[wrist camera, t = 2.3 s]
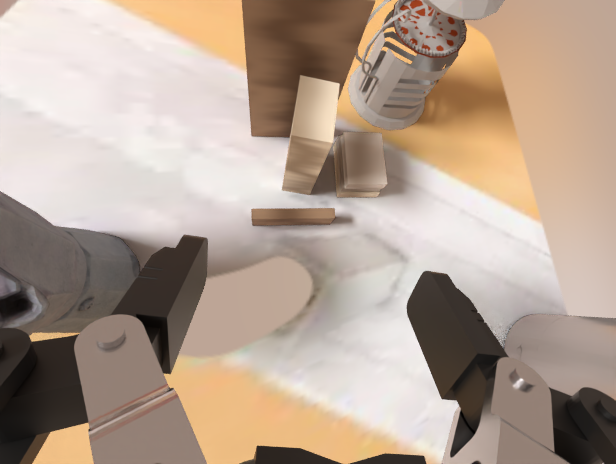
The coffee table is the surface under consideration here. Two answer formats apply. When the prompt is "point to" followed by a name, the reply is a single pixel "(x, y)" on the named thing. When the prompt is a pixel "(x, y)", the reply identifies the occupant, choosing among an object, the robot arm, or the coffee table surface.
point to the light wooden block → (310, 133)
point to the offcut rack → (296, 69)
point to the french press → (411, 58)
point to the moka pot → (58, 272)
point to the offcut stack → (359, 164)
